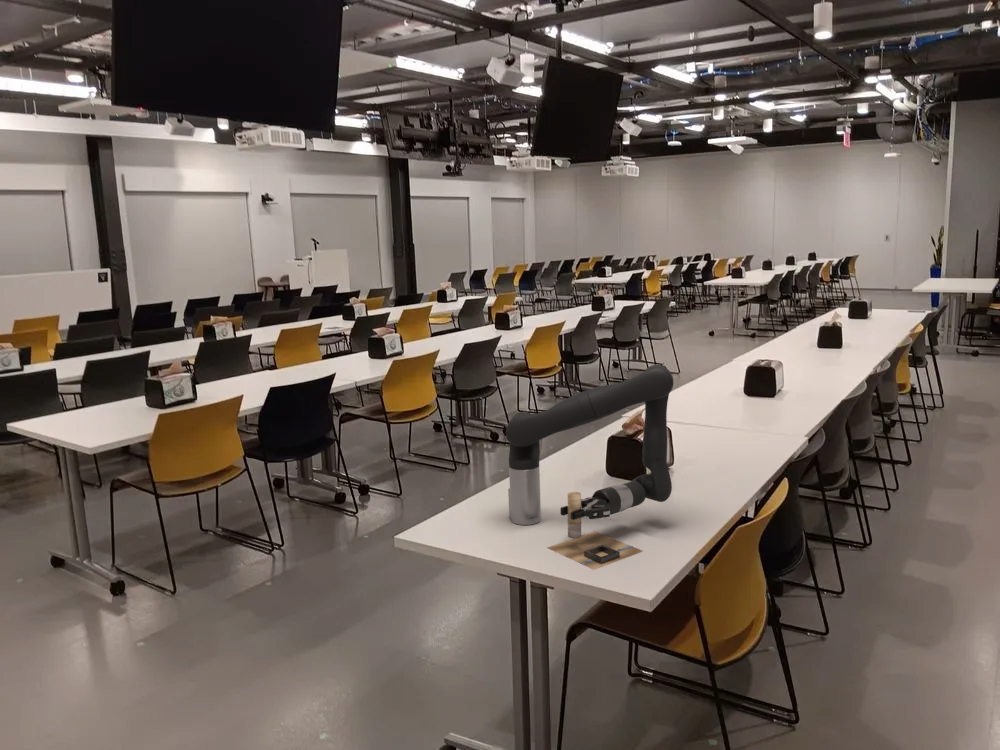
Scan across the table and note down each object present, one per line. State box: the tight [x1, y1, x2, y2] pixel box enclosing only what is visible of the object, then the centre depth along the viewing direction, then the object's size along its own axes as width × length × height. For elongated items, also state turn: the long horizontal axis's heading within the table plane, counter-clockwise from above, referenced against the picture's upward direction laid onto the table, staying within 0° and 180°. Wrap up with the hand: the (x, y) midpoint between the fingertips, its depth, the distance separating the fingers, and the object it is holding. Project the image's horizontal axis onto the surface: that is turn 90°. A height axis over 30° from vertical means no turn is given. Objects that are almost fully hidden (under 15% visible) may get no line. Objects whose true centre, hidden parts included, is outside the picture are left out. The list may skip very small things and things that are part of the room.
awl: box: [567, 491, 582, 539], centre depth 213 cm, size 4×4×12 cm
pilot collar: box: [584, 545, 620, 564], centre depth 208 cm, size 7×7×2 cm
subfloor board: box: [546, 530, 644, 571], centre depth 213 cm, size 19×18×2 cm
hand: (566, 513), depth 211 cm, fingers closed on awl, 3 cm apart
